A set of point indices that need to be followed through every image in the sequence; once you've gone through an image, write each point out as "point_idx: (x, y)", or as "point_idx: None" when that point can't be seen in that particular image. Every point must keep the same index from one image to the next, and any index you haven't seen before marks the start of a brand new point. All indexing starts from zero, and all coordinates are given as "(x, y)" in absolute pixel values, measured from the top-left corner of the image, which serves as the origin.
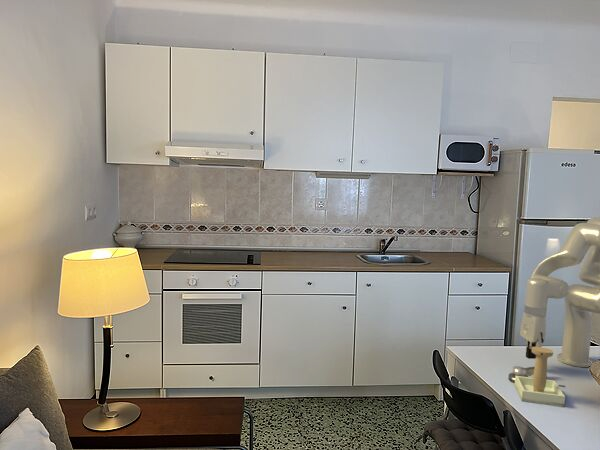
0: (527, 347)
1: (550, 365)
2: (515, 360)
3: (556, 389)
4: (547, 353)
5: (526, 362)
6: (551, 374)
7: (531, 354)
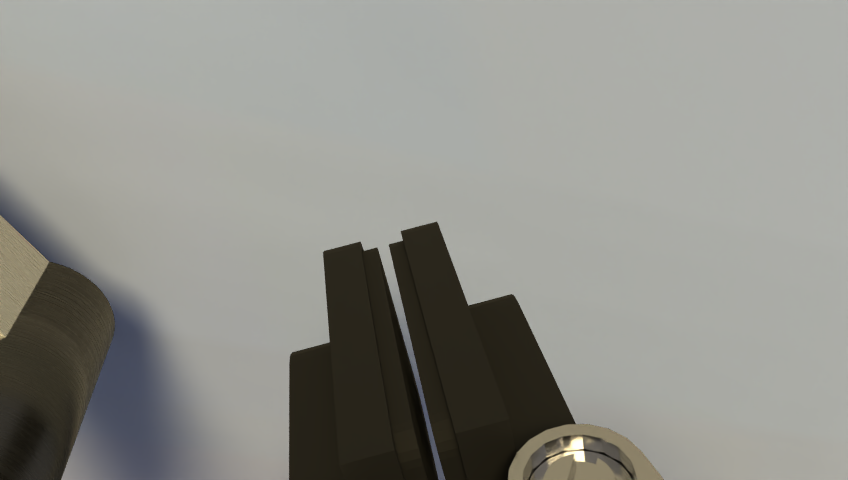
0: (458, 437)
1: None
2: (820, 39)
3: None
4: None
5: (728, 208)
6: None
7: (294, 395)
